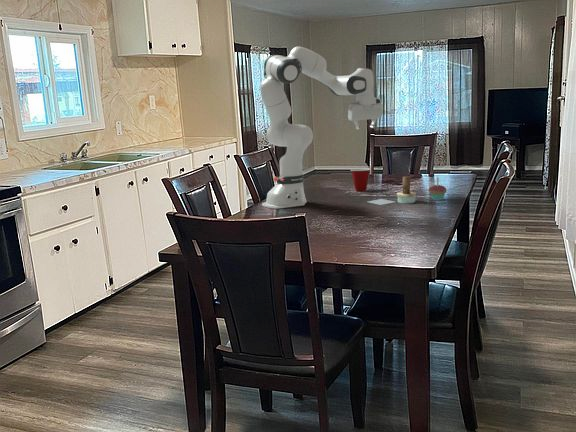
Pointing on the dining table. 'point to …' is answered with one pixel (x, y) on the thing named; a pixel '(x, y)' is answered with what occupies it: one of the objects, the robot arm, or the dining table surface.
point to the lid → (406, 188)
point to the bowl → (406, 199)
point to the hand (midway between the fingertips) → (365, 128)
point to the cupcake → (437, 191)
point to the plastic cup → (360, 178)
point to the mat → (381, 201)
